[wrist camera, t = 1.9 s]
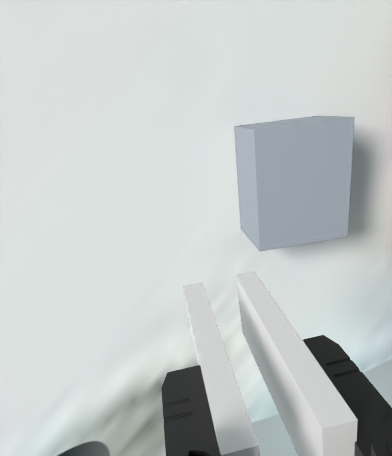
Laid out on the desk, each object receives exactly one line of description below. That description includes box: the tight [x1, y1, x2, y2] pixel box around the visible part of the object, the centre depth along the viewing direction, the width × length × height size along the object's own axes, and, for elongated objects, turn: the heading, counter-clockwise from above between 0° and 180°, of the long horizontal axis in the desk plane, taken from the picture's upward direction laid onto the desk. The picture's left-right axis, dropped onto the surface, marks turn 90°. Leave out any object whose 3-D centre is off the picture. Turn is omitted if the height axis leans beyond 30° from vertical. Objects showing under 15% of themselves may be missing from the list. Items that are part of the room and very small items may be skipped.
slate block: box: [234, 116, 354, 251], centre depth 29 cm, size 10×8×6 cm
